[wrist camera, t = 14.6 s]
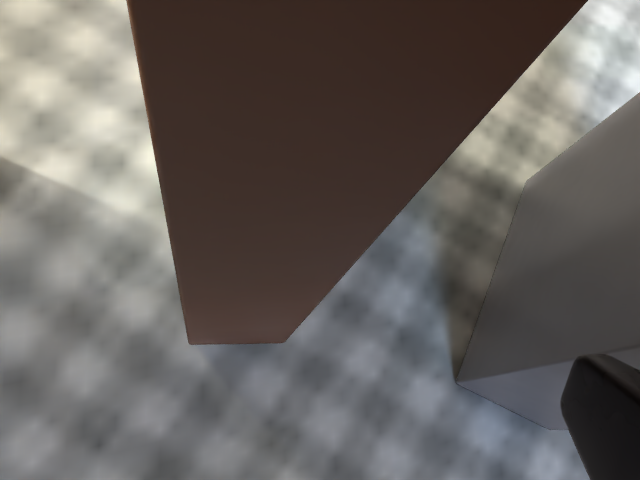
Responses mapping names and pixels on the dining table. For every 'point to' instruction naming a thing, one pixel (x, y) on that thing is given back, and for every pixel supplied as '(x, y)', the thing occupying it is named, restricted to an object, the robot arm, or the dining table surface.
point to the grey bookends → (564, 275)
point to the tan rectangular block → (309, 134)
